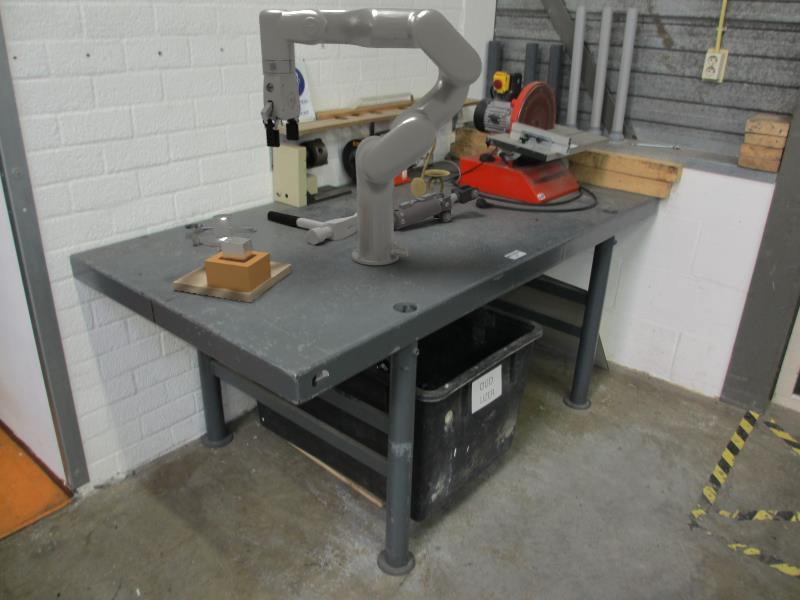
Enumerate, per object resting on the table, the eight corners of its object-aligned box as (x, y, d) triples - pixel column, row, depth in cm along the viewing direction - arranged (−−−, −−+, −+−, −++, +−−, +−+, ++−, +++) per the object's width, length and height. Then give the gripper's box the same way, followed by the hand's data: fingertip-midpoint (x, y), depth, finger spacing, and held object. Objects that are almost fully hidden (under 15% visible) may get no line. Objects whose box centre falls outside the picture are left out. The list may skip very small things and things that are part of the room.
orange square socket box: (293, 270, 159) (290, 216, 153) (249, 302, 140) (244, 242, 135) (221, 260, 165) (215, 208, 159) (170, 289, 146) (161, 232, 141)
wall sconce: (428, 210, 210) (431, 134, 200) (407, 205, 216) (408, 130, 206) (454, 203, 220) (457, 129, 209) (433, 197, 225) (435, 126, 215)
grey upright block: (255, 279, 148) (251, 238, 143) (246, 285, 144) (242, 244, 140) (234, 276, 149) (230, 236, 145) (225, 282, 145) (220, 241, 141)
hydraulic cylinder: (482, 209, 205) (480, 179, 200) (390, 246, 188) (385, 215, 183) (467, 204, 210) (465, 175, 205) (376, 239, 193) (372, 209, 188)
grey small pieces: (194, 247, 174) (192, 225, 172) (192, 246, 175) (190, 224, 172) (257, 231, 188) (255, 211, 185) (255, 231, 188) (253, 210, 186)
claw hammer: (246, 213, 190) (318, 229, 173) (299, 199, 206) (369, 212, 190) (248, 231, 192) (319, 248, 176) (300, 215, 209) (370, 229, 192)
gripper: (275, 71, 137) (280, 150, 144) (310, 66, 152) (313, 138, 159) (244, 69, 139) (251, 148, 146) (282, 65, 154) (286, 136, 161)
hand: (283, 143), depth 153 cm, fingers open, 9 cm apart
